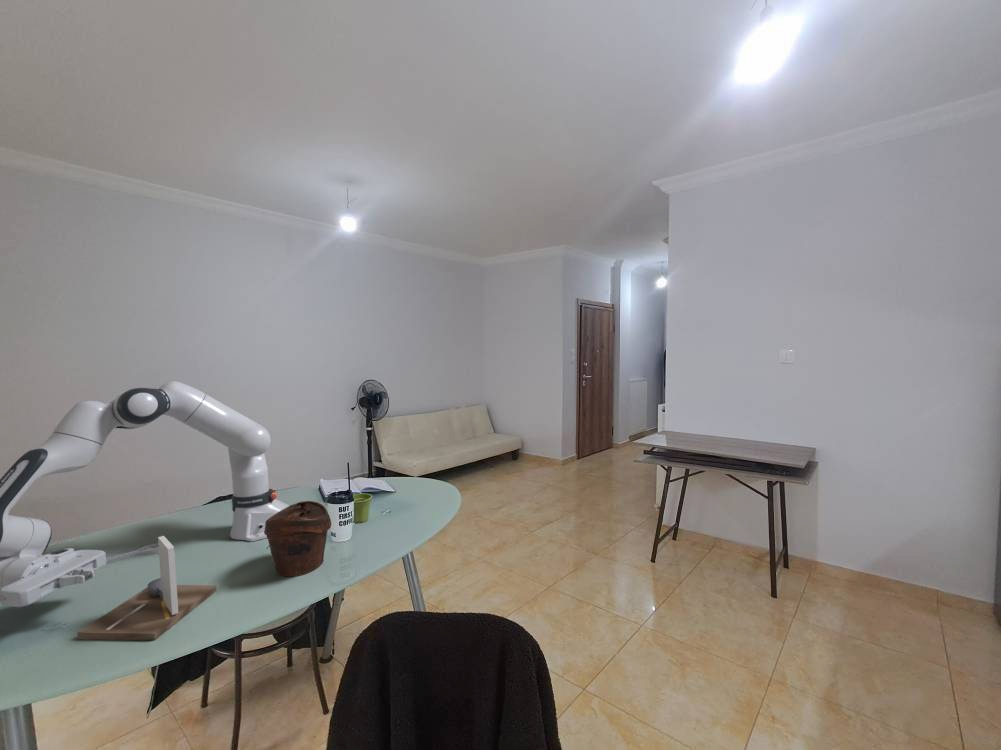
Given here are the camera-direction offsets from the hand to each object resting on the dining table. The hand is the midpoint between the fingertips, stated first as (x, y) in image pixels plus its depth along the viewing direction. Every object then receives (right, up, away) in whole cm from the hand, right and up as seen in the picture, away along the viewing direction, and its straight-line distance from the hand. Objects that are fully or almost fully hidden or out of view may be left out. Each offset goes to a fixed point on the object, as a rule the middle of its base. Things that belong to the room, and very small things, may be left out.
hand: (88, 576), depth 107 cm
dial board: (+14, -10, +2) cm, 17 cm away
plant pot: (+47, -6, +59) cm, 76 cm away
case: (+40, -8, +25) cm, 47 cm away
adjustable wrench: (-20, -9, +31) cm, 38 cm away
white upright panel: (+16, -8, +4) cm, 18 cm away
